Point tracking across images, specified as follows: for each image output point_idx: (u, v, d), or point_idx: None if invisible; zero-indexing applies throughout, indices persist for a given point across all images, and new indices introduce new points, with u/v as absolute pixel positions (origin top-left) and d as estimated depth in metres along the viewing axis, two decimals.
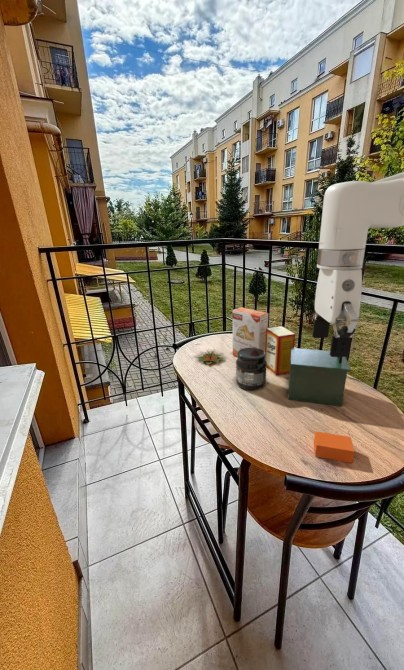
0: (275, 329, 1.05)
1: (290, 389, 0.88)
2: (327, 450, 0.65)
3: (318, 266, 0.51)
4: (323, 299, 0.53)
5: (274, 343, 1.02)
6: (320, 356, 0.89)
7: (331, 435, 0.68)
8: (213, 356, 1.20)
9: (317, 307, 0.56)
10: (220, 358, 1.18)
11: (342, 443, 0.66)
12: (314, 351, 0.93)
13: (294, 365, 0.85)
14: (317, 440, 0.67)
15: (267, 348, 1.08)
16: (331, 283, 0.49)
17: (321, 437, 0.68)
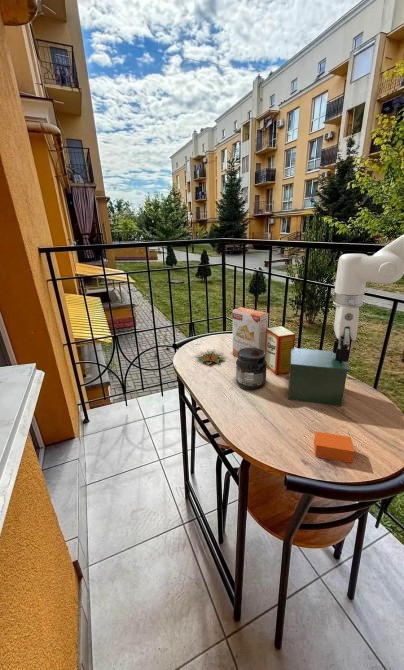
0: (275, 329, 1.05)
1: (290, 389, 0.88)
2: (327, 450, 0.65)
3: (333, 302, 0.81)
4: (335, 323, 0.82)
5: (274, 343, 1.02)
6: (320, 356, 0.89)
7: (331, 435, 0.68)
8: (213, 356, 1.20)
9: (334, 327, 0.86)
10: (220, 358, 1.18)
11: (342, 443, 0.66)
12: (314, 351, 0.93)
13: (294, 365, 0.85)
14: (317, 440, 0.67)
15: (267, 348, 1.08)
16: (339, 314, 0.79)
17: (321, 437, 0.68)
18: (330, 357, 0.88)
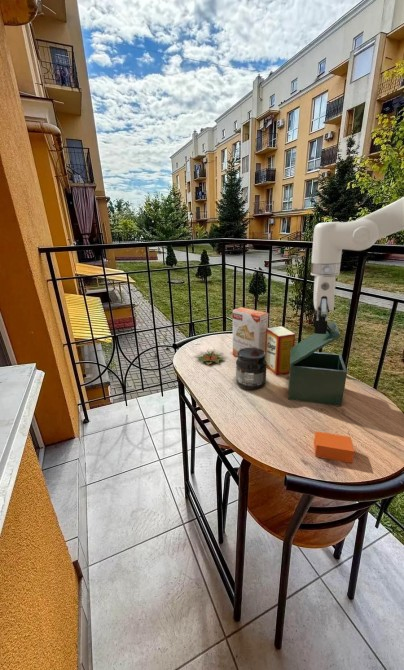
0: (275, 329, 1.05)
1: (290, 389, 0.88)
2: (327, 450, 0.65)
3: None
4: None
5: (274, 343, 1.02)
6: (314, 339, 0.87)
7: (331, 435, 0.68)
8: (213, 356, 1.20)
9: None
10: (220, 358, 1.18)
11: (342, 443, 0.66)
12: (309, 337, 0.91)
13: (293, 363, 0.84)
14: (317, 440, 0.67)
15: (267, 348, 1.08)
16: (316, 284, 0.78)
17: (321, 437, 0.68)
18: (322, 334, 0.86)
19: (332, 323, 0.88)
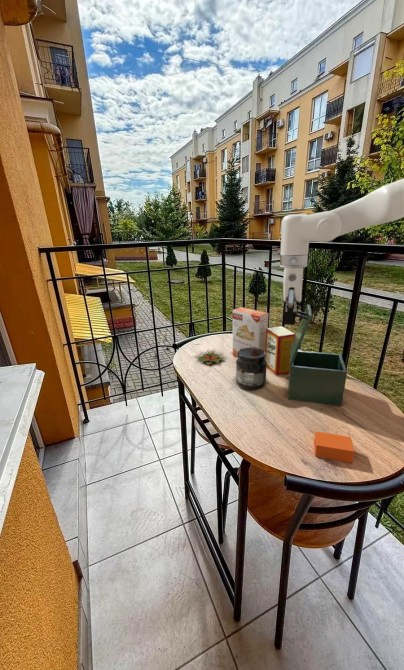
0: (275, 329, 1.05)
1: (290, 389, 0.88)
2: (327, 450, 0.65)
3: None
4: None
5: (274, 343, 1.02)
6: (299, 330, 0.88)
7: (331, 435, 0.68)
8: (213, 356, 1.20)
9: None
10: (220, 358, 1.18)
11: (342, 443, 0.66)
12: (297, 331, 0.92)
13: (291, 362, 0.84)
14: (317, 440, 0.67)
15: (267, 348, 1.08)
16: (284, 275, 0.80)
17: (321, 437, 0.68)
18: (302, 322, 0.87)
19: (307, 307, 0.88)
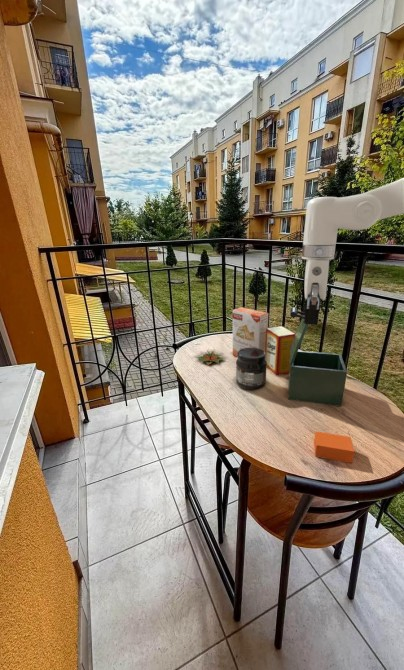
0: (275, 329, 1.05)
1: (290, 389, 0.88)
2: (327, 450, 0.65)
3: None
4: None
5: (274, 343, 1.02)
6: (299, 330, 0.88)
7: (331, 435, 0.68)
8: (213, 356, 1.20)
9: None
10: (220, 358, 1.18)
11: (342, 443, 0.66)
12: (297, 331, 0.92)
13: (291, 362, 0.84)
14: (317, 440, 0.67)
15: (267, 348, 1.08)
16: (306, 269, 0.69)
17: (321, 437, 0.68)
18: (302, 322, 0.87)
19: None
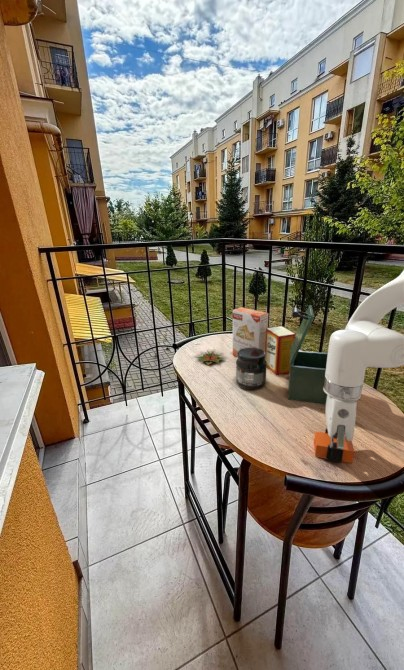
0: (275, 329, 1.05)
1: (290, 389, 0.88)
2: None
3: (323, 388, 0.63)
4: (327, 413, 0.64)
5: (274, 343, 1.02)
6: (300, 331, 0.88)
7: None
8: (213, 356, 1.20)
9: None
10: (220, 358, 1.18)
11: None
12: (298, 331, 0.92)
13: (292, 362, 0.84)
14: (317, 440, 0.67)
15: (267, 348, 1.08)
16: (330, 406, 0.61)
17: (321, 437, 0.68)
18: (304, 322, 0.87)
19: (308, 308, 0.88)
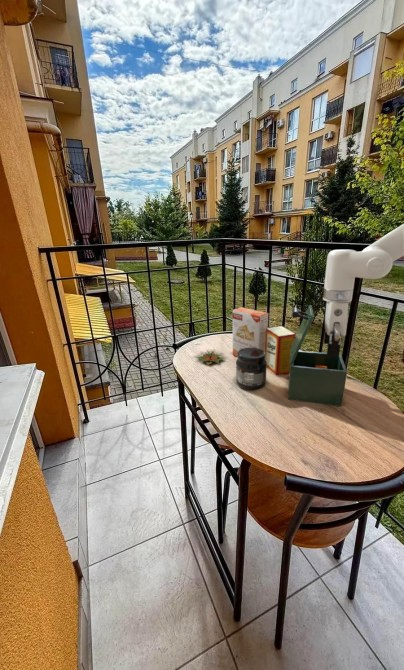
0: (275, 329, 1.05)
1: (290, 389, 0.88)
2: None
3: (323, 298, 0.81)
4: (326, 319, 0.82)
5: (274, 343, 1.02)
6: (300, 331, 0.88)
7: None
8: (213, 356, 1.20)
9: None
10: (220, 358, 1.18)
11: None
12: (298, 331, 0.92)
13: (292, 362, 0.84)
14: None
15: (267, 348, 1.08)
16: (328, 309, 0.79)
17: None
18: (304, 322, 0.87)
19: (308, 308, 0.88)
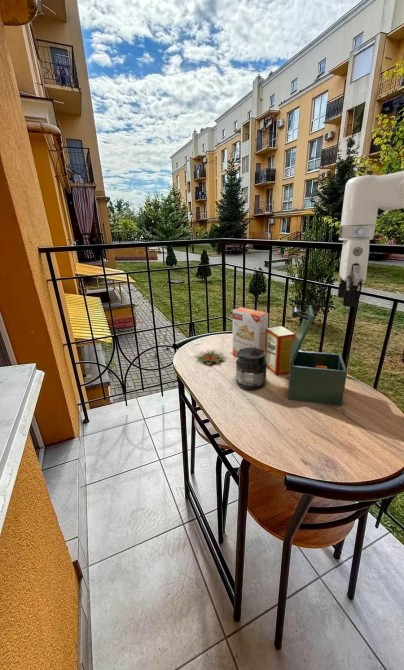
0: (275, 329, 1.05)
1: (290, 389, 0.88)
2: None
3: (339, 238, 0.70)
4: (342, 263, 0.71)
5: (274, 343, 1.02)
6: (300, 331, 0.88)
7: None
8: (213, 356, 1.20)
9: (340, 271, 0.75)
10: (220, 358, 1.18)
11: None
12: (298, 331, 0.92)
13: (292, 362, 0.84)
14: None
15: (267, 348, 1.08)
16: (345, 250, 0.68)
17: None
18: (304, 322, 0.87)
19: (308, 308, 0.88)
